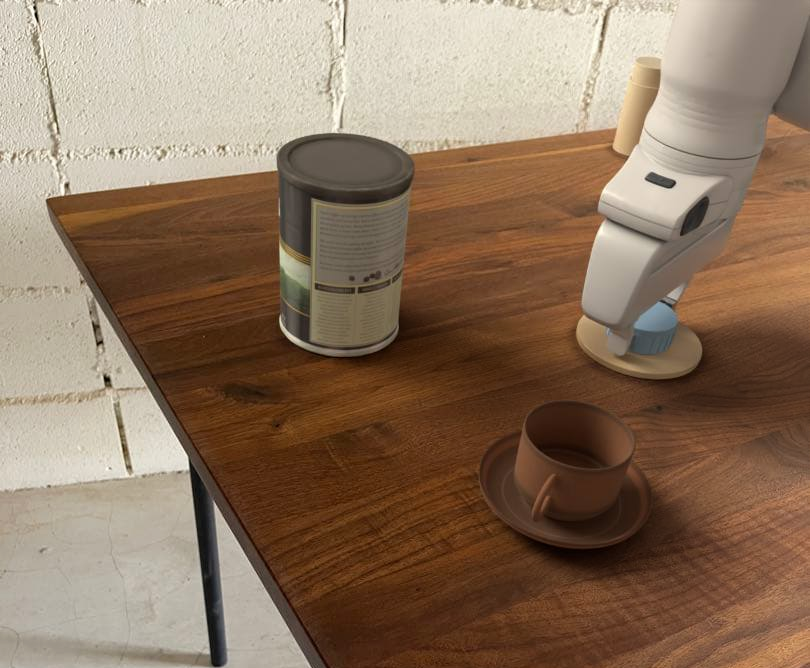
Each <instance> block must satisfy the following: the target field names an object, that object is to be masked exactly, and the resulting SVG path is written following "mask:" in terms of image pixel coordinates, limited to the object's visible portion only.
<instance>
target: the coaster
mask: <svg viewBox="0 0 810 668" xmlns="http://www.w3.org/2000/svg"><path fill="white" fill-rule="evenodd" d="M676 328H677V330H676V333H675V336H674V338H673V341H672V344H670V347H669V348H668V349H667V350H666V351H664V352H662V353H658V354H651V355H647V354H638V353H633V352H630V351H628V352H626V353H625V354H624V355H622V356H620V355H617V354H615V353H613V352H611V351H609V350H608V348H607V341H608V336H607V333H606V327H605V326H603V325H600V324H598V323H596V322H594V321H592V320H590V319H588V318H587V317H586V316H585V315H584V314H583V315H582V317H581V318H580V319H579V320H578V323H577V326H576V331H575V337H576V340H577V343H578V345H579V347H580V348H581V349H582V351H583V352H584V353H585V354H586V355H587V356H588V357H589V358H591V359H592V360H593V361H594V362H596V363H598V364H599V365H601V366H603V367H605V368H607V369H609V370H611V371H614V372H616V373H618V374H622V375H626V376H629V377H633V378H639V379H645V380H671V379H675V378H680V377H682V376H686V375H687V374H689V373H691V372H692V371H694V370H695V369H696V368H697V367H698V365H699V363H700V361H701V359H702V356H703V345H702V343H701V340H700V339H699V337H698V336H697V334H696V333H695V332H694V331H693V330H692V329H691V328H690V327H688V326H687V325H686V324H684V323H683V322H681V321H680V320H678V324H677V327H676Z"/></svg>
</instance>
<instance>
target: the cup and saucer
mask: <svg viewBox="0 0 810 668" xmlns="http://www.w3.org/2000/svg"><path fill="white" fill-rule="evenodd" d="M523 422H524V423H523V425H522V430H519V431H518V430H517V431H515V432H512V433H509V434H506V435H504V436H503V437H501V438H499V439H498V440H496V441H495V442H493V443H492V444H491V445H490V446H489V447H488V448H487V450H485V452H484V453H483V455H482V458H481V459H480V462H479V466H478V483H479V484H478V485H479V488H480V491H481V494H482V497H483V498H484V501H485V502H486V504H487V505H488V507H489V508H490V509H491V510H492V512H493V513H494V514H495V516H497V517H498V518H499V519H500V520H501V521H502V522H504V523H505V524H506V525H508V527H510V528H512V529H513V530H515V531H516V532H518V533H520V534H522V535H524V536H525V537H527V538H530V539H532V540H534V541H537V542H540V543H543V544H546V545H549V546H554V547H558V548H565V549H573V550H585V549H599V548H604V547H605V548H606V547H610V546H612V545H617V544H618V543H621V542H623V541H625V540H627V539H628V538H630V537H632V536H633V535H635V534H636V533H637V532H638V531H639V530H640V529H641V528H642V527H643V525H644V524H645V523H646V522H647V520H648V518H649V516H650V514H651V512H652V509H653V505H654V503H653V502H654V496H653V490H652V487H651V484H650V482H649V479H648V478H647V475H646V474H645V473H644V471H643V470H642V468H641V467H640V466H639V465H638V464H637V463H636V462H635V460H633V457H634V456H633V455H634V453H635V449H636V438H635V435H634V433H633V430H632V429H631V428H630V426H629V425H628V424H627V423H626V422H625V421H624V420H623V419H622V418H621V417H620V416H618V415H617V414H616V413H614V412H612V411H611V410H609V409H606V408H605V407H602V406H600V405H597V404H594V403H591V402H587V401H583V400H575V399H558V400H556V399H555V400H550V401H547V402H544V403H541V404H539V405H537V406H535V407H534V408H532V409H531V410H530V411H529V412H528V413H527V415H526V416H525V419H524V421H523Z"/></svg>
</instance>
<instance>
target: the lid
mask: <svg viewBox="0 0 810 668" xmlns="http://www.w3.org/2000/svg"><path fill="white" fill-rule="evenodd" d="M678 321H679V317H678V315H677V312H674V311H673V310H672V309H671V308H670V307H668V306H667V305H665V304H663V303H661V302H658V303H657V304H655V305H654V306H653V307H651V308H650V309H649V310H648V311H646V312H645V313H644V314H642V315H641V316H640V317H639V319H638V321H637V322H635V325H634V331H635V332H637V335H636V339H635V341H634V345H633V347H632V348H631V349H630V350H629V351H630V352H633V353H638V354H647V355H651V354H658V353H662V352H664V351H666V350H667V349H668V348H669V347H670V344H672V341H673V338H674V336H675V333H676V330H677V328H676V327H677V324H678ZM606 333H607V336H608V338H609V334H610V328H607V327H606Z"/></svg>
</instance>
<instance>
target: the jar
mask: <svg viewBox="0 0 810 668" xmlns="http://www.w3.org/2000/svg"><path fill="white" fill-rule="evenodd" d="M661 59H662V58H660V57H655V56H639V57H637V58H635V59H634V66H633V70H632V73H631V75H630V76H629V77H628V82H627V86H626V90H625V95H624V99H623V102H622V106H621V109H620V110H621V111H620V115H619V119H618V123H617V127H616V131H615V135H614V139H613V143H612V149H613V150H614V151H615V152H616V153H618V154H620V155H623V156H625V157H630V155H631V153H632V151H633V149H634V147H635V146H636V145H637V144H639V141H640V137H641V133H642V130H643V126H644V122H645V119H646V116H647V114H648V112H649V110H650V109H651V107H652V105H653V104H654V102H655V100H656V97H657V95H658V91H659V87H660V80H661Z"/></svg>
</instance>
